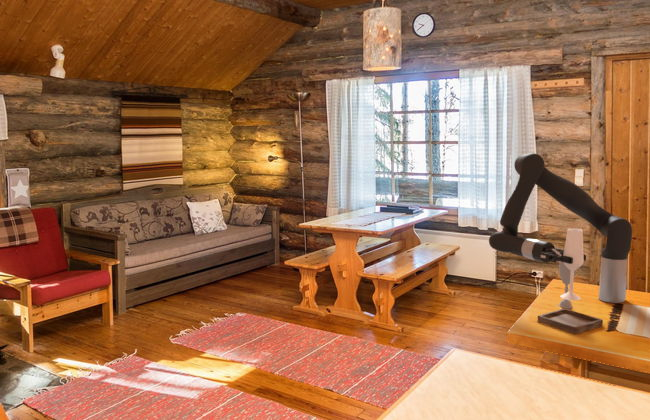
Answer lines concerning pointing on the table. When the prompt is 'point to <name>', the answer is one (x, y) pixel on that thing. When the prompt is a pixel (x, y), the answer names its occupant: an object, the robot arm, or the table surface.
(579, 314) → the tray
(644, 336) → the table surface
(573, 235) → the champagne flute
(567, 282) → the chalice
